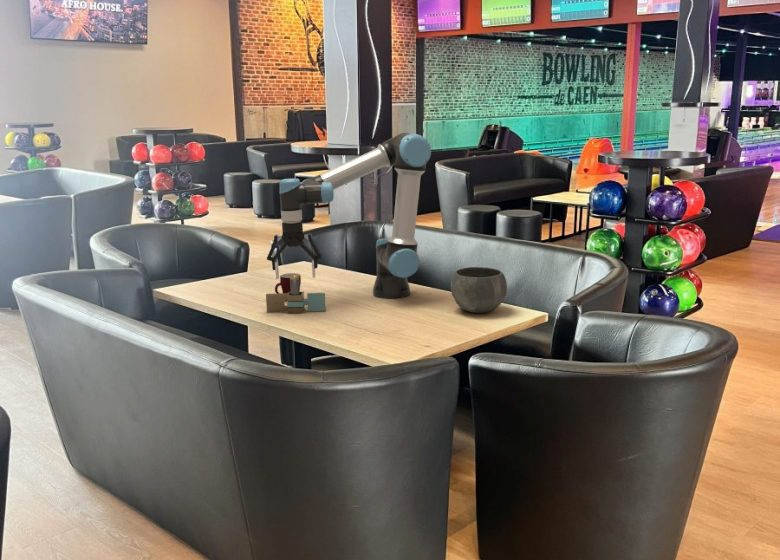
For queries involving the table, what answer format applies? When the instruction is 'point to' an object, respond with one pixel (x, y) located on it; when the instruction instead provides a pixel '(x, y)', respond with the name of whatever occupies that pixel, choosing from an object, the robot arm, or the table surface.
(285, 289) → the mug
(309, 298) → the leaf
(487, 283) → the bowl
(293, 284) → the pin
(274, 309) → the square hinge knuckle
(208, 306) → the table surface
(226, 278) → the table surface
